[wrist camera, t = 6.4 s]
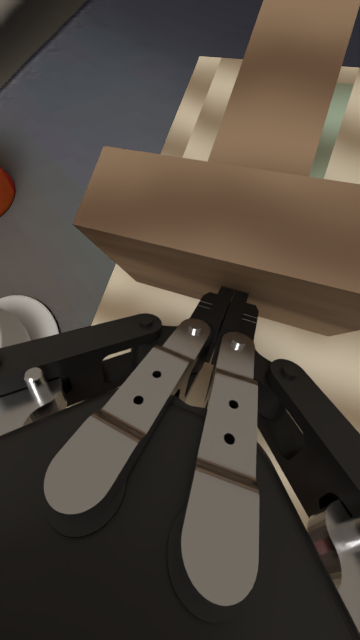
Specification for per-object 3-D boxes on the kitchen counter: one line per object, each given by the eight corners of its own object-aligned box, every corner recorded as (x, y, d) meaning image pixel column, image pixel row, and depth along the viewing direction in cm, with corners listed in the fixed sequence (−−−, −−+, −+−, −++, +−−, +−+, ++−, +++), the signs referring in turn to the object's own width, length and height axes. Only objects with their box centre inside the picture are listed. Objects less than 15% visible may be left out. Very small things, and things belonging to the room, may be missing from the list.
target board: (200, 69, 22) (199, 56, 21) (454, 91, 17) (468, 75, 16) (65, 408, 18) (56, 411, 17) (332, 539, 14) (341, 552, 13)
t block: (192, 127, 19) (172, -27, 12) (378, 149, 16) (518, -38, 9) (136, 281, 18) (72, 224, 10) (328, 336, 15) (442, 313, 7)
